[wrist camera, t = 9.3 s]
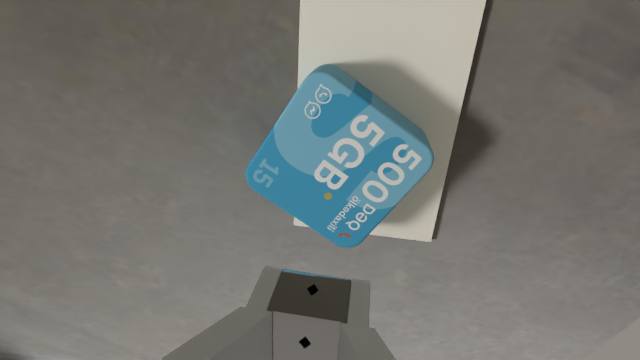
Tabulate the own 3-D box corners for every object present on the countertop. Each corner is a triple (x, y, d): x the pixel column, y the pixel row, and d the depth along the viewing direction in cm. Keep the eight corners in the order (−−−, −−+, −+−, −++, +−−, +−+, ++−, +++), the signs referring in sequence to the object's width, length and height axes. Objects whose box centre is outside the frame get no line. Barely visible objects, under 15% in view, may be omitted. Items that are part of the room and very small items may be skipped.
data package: (315, 61, 26) (444, 156, 27) (323, 55, 30) (434, 138, 31) (237, 181, 31) (350, 255, 32) (253, 161, 35) (353, 228, 36)
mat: (499, -69, 25) (502, -70, 25) (430, 239, 36) (430, 241, 36) (303, -76, 26) (302, -77, 26) (294, 222, 38) (293, 225, 37)
